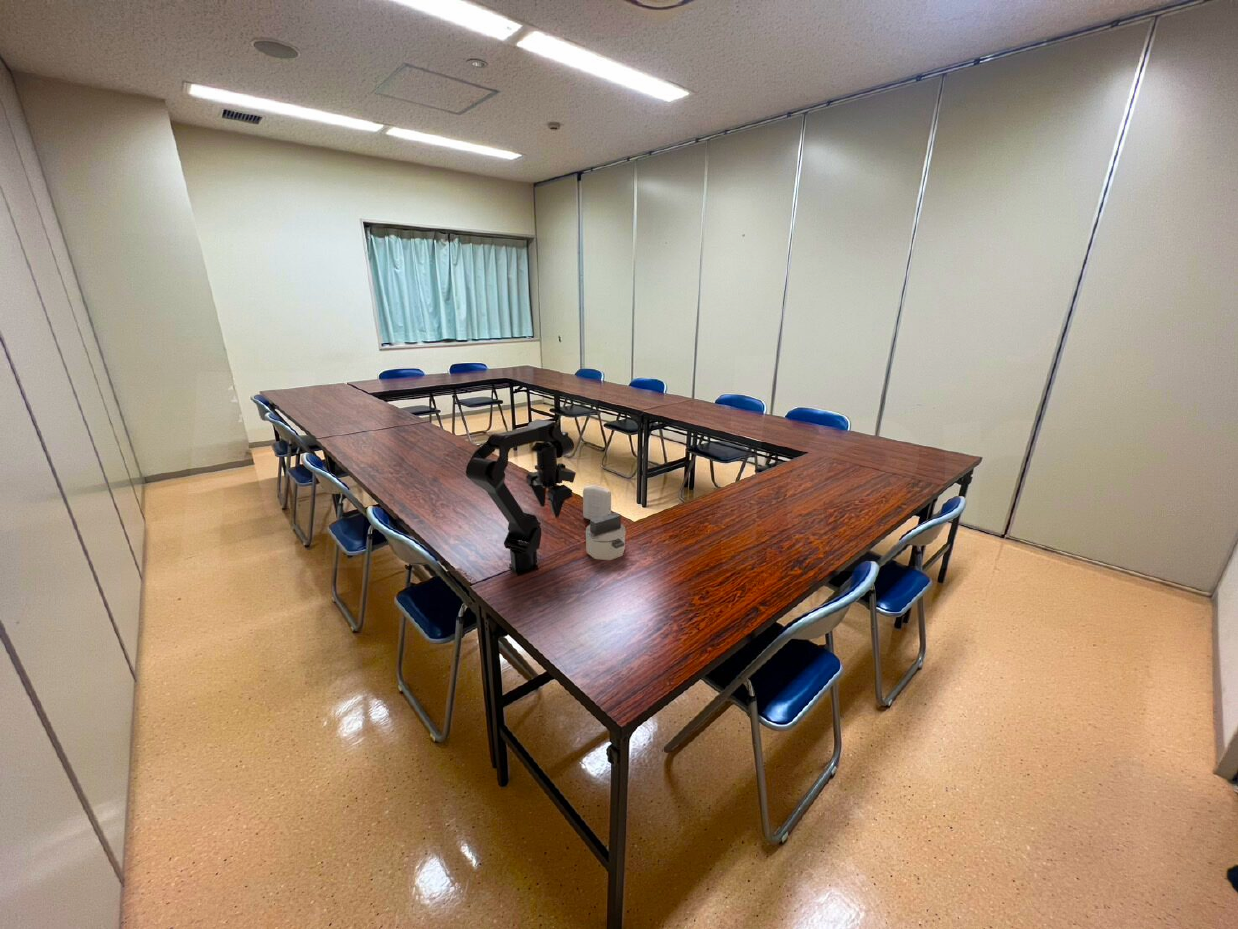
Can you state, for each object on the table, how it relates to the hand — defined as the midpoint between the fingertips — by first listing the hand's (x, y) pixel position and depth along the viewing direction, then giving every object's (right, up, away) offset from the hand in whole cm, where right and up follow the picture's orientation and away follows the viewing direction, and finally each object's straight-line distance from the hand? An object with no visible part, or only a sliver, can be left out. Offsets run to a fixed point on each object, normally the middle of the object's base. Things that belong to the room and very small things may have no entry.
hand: (549, 511), depth 142 cm
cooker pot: (+17, -12, +2) cm, 21 cm away
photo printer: (+13, -5, +22) cm, 26 cm away
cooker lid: (+17, -6, 0) cm, 18 cm away
